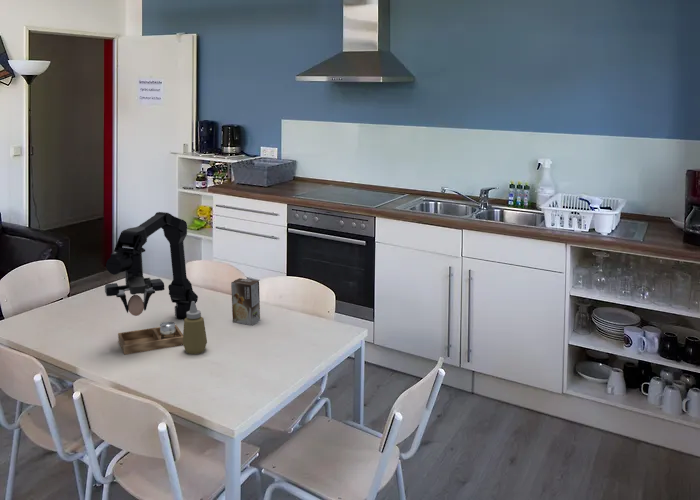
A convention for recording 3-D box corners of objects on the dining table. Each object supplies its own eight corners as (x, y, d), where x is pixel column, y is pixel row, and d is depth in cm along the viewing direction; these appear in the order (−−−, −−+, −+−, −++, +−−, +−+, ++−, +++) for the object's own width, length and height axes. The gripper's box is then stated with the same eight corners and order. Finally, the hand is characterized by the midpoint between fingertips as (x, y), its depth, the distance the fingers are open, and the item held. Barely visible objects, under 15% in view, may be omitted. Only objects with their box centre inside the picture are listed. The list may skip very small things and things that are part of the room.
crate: (176, 333, 237) (175, 324, 236) (184, 346, 226) (184, 336, 225) (118, 342, 228) (118, 333, 227) (124, 356, 217) (123, 346, 216)
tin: (174, 336, 233) (173, 320, 231) (177, 341, 228) (176, 325, 227) (159, 338, 231) (158, 322, 229) (162, 343, 226) (161, 327, 225)
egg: (131, 319, 220) (129, 298, 218) (126, 314, 224) (124, 294, 223) (146, 316, 223) (145, 295, 221) (141, 312, 227) (140, 291, 226)
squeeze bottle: (185, 347, 225) (182, 298, 220) (209, 347, 225) (207, 297, 221) (181, 357, 217) (178, 305, 213) (205, 356, 218) (203, 305, 213)
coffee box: (261, 320, 252) (260, 280, 248) (252, 326, 246) (251, 285, 242) (240, 317, 255) (239, 277, 251) (231, 322, 249) (230, 282, 245)
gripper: (107, 276, 209) (110, 322, 212) (166, 270, 217) (168, 315, 220) (103, 267, 218) (106, 312, 222) (160, 262, 226) (162, 305, 230)
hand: (136, 311), depth 223 cm, fingers closed on egg, 5 cm apart
